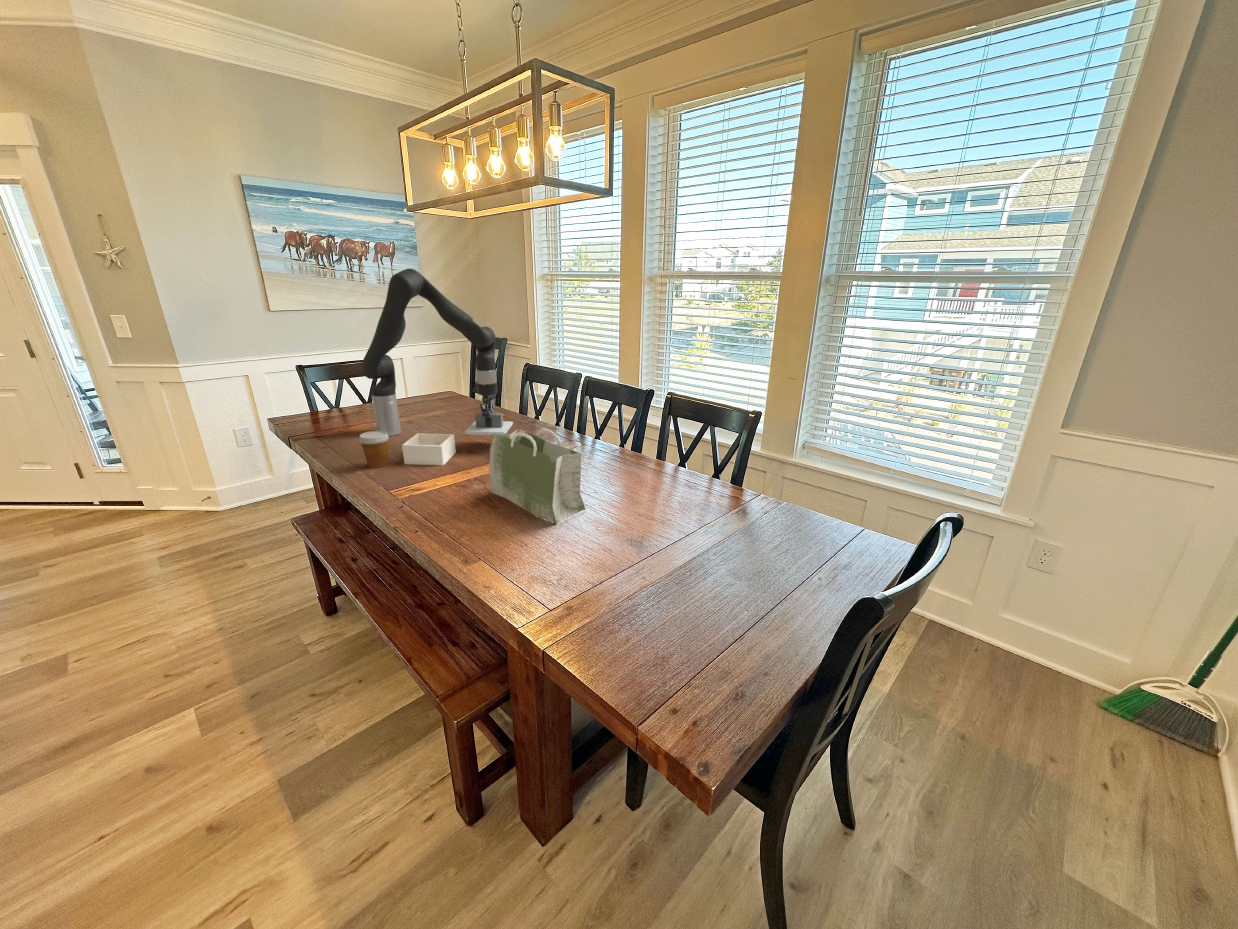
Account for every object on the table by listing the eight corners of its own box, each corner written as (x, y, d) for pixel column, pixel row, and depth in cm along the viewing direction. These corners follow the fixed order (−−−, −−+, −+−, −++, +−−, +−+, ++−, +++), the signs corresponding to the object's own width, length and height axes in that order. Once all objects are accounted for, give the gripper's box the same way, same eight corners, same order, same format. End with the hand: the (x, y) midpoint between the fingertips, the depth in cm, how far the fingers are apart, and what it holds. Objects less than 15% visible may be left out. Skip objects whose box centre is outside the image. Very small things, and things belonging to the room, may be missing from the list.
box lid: (476, 424, 199) (475, 408, 197) (513, 425, 199) (512, 409, 197) (465, 435, 185) (463, 418, 183) (504, 436, 185) (503, 419, 183)
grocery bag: (589, 510, 147) (590, 437, 139) (555, 526, 137) (553, 448, 129) (522, 481, 166) (519, 415, 158) (488, 492, 157) (483, 423, 148)
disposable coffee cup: (357, 468, 172) (351, 436, 168) (379, 460, 180) (374, 429, 176) (377, 473, 169) (372, 440, 164) (398, 464, 177) (394, 432, 173)
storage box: (419, 453, 188) (417, 433, 186) (455, 454, 189) (454, 434, 186) (404, 466, 175) (401, 445, 173) (443, 467, 175) (441, 446, 173)
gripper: (481, 377, 192) (484, 419, 198) (471, 384, 179) (475, 429, 185) (500, 378, 192) (503, 420, 198) (491, 385, 179) (494, 430, 185)
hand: (489, 424), depth 191 cm, fingers closed on box lid, 3 cm apart
